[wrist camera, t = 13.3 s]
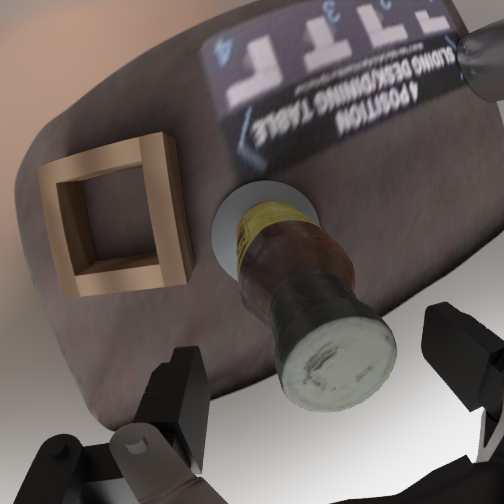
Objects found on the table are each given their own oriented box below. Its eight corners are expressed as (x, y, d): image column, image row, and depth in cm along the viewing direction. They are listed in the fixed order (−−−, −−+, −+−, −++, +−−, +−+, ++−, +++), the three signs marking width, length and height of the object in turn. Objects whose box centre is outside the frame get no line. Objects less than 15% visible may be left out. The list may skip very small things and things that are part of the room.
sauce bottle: (225, 214, 27) (195, 309, 8) (291, 189, 27) (408, 225, 8) (252, 279, 29) (275, 451, 10) (314, 255, 29) (429, 388, 9)
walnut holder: (175, 138, 26) (162, 131, 21) (195, 265, 29) (187, 283, 24) (64, 166, 26) (37, 167, 21) (86, 280, 29) (64, 298, 24)
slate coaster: (313, 174, 27) (314, 174, 27) (322, 277, 30) (324, 279, 29) (204, 188, 27) (203, 189, 27) (221, 292, 30) (220, 294, 29)
